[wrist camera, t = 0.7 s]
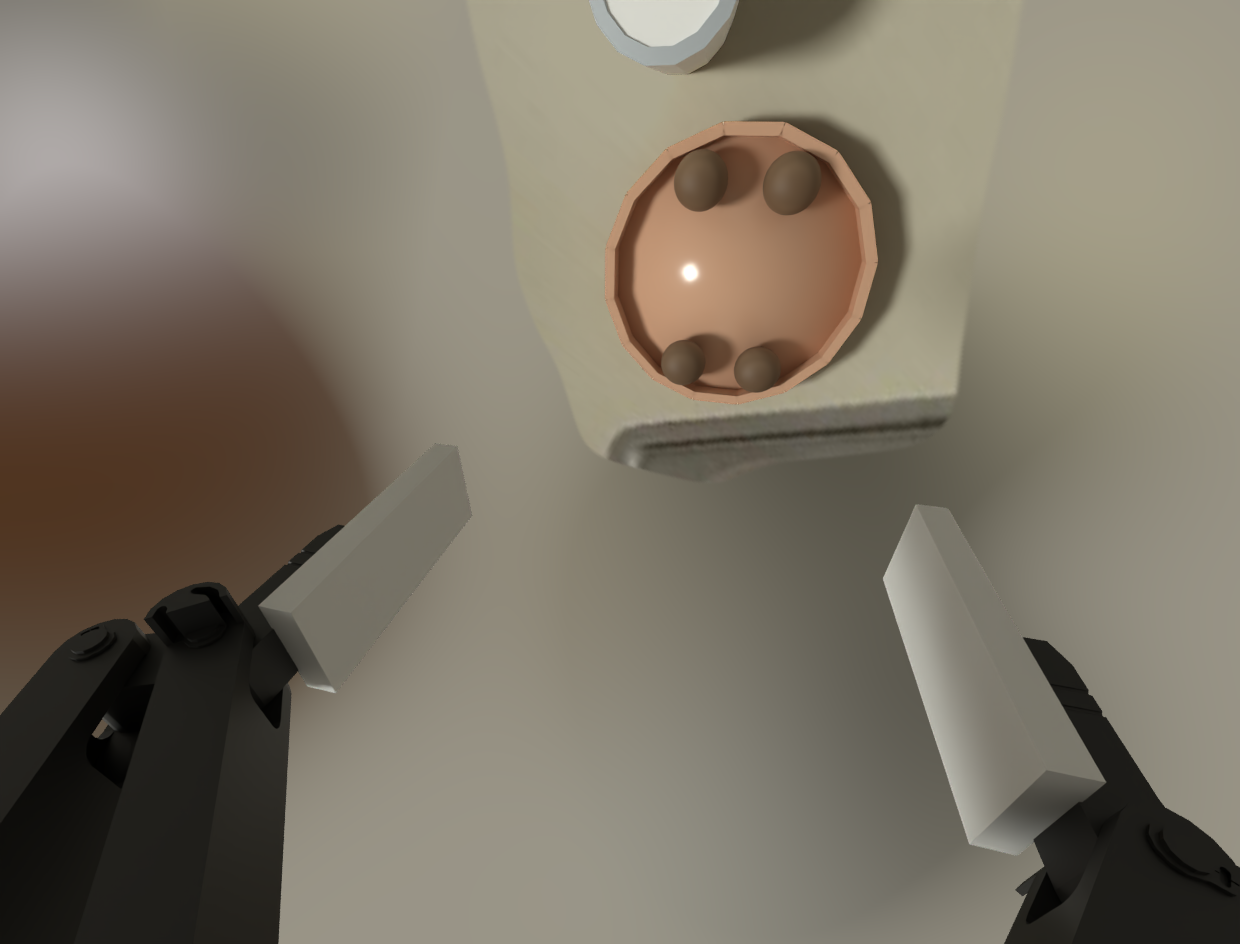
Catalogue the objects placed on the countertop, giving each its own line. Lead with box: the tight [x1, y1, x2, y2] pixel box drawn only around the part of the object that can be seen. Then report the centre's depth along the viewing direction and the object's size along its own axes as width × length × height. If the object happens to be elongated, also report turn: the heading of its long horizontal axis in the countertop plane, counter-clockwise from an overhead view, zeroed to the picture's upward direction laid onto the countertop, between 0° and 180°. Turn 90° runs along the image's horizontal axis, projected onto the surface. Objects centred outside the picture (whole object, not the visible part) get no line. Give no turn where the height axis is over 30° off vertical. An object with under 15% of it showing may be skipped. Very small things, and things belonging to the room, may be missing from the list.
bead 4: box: [763, 151, 821, 215], centre depth 26 cm, size 3×3×3 cm
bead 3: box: [734, 346, 781, 393], centre depth 31 cm, size 3×3×3 cm
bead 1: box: [674, 149, 728, 212], centre depth 27 cm, size 3×3×3 cm
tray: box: [605, 121, 878, 404], centre depth 30 cm, size 16×16×2 cm
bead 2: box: [661, 340, 706, 385], centre depth 32 cm, size 3×3×3 cm
